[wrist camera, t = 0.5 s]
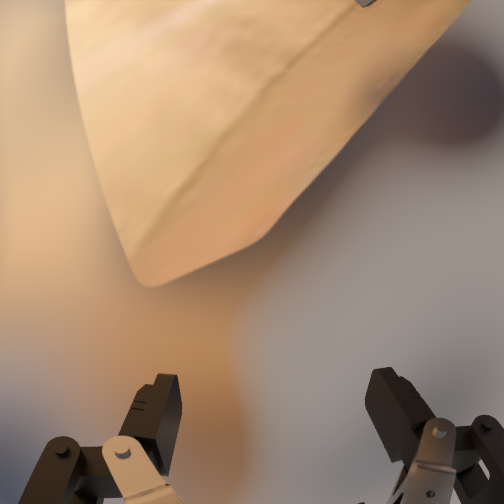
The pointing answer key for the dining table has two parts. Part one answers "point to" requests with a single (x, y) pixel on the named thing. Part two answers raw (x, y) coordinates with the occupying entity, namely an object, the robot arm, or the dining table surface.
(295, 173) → the dining table surface
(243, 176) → the dining table surface
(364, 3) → the peg hole fixture
